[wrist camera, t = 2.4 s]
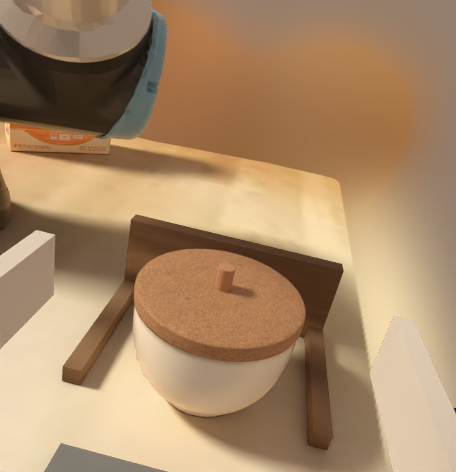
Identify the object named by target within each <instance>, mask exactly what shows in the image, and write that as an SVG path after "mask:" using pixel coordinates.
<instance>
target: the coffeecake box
mask: <svg viewBox="0 0 456 472" xmlns="http://www.w3.org/2000/svg"><path fill="white" fill-rule="evenodd" d="M5 134H6V139H7V142H8V145H9V148H10V151H34V152H62V153H88V154H109V151H110V141H111V138H107V139H98V138H96V137H92V136H86V135H80V134H74V133H68V132H62V131H56V130H49V129H43V128H37V127H30V126H24V125H17V124H10V123H5Z"/></svg>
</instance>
